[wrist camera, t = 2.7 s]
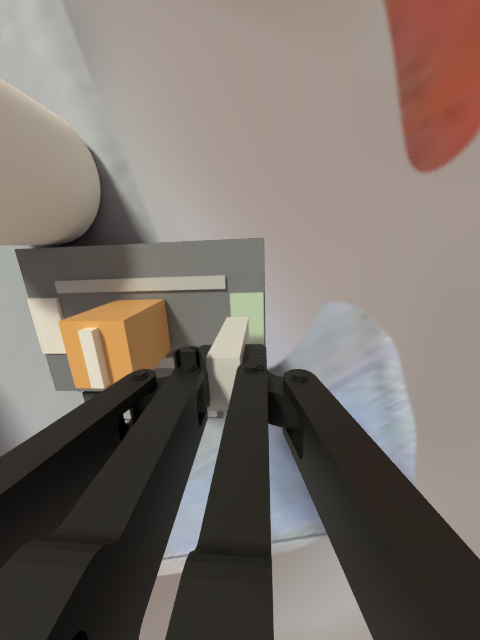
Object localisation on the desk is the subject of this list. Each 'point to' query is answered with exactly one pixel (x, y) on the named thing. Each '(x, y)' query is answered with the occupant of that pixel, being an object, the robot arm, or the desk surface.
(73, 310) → the box
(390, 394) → the desk surface
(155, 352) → the breaker toggle
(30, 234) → the cup
